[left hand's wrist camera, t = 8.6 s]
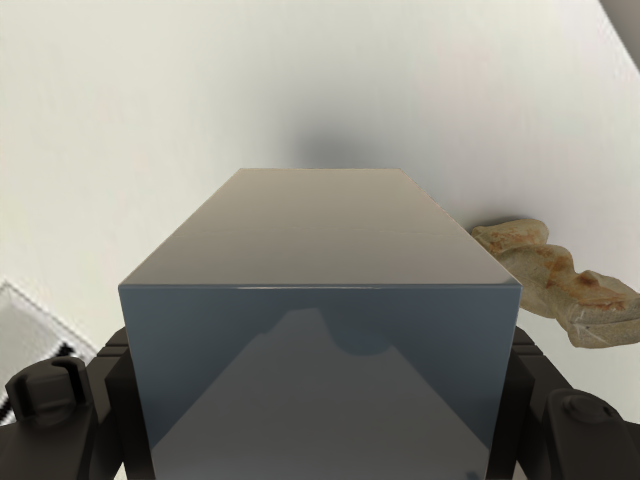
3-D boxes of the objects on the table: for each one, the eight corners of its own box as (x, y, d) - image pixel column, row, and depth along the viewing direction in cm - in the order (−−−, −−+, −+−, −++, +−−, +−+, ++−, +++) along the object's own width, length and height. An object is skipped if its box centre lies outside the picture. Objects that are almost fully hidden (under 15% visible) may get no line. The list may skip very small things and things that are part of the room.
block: (400, 168, 17) (525, 285, 7) (390, 311, 19) (470, 557, 9) (239, 168, 17) (115, 285, 7) (249, 310, 19) (170, 557, 9)
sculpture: (532, 266, 39) (652, 365, 25) (458, 269, 39) (536, 370, 25) (541, 208, 37) (677, 282, 23) (463, 212, 37) (551, 287, 23)
